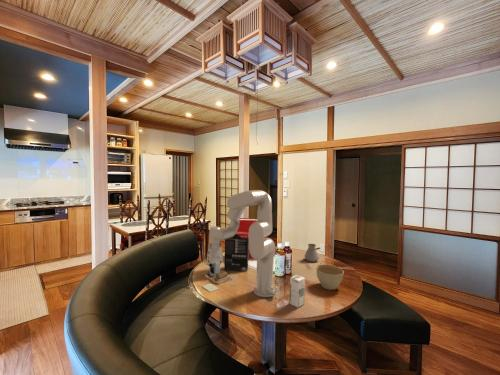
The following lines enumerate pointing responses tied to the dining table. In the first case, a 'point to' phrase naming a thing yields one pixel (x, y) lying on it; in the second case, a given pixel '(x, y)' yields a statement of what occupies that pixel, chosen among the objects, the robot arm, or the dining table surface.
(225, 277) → the offcut oak
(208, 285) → the mat
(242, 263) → the graphics card box
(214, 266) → the panel
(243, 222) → the book
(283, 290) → the dining table surface
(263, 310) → the dining table surface
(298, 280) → the syrup box
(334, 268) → the planter bowl
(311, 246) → the coffee pot
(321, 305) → the dining table surface
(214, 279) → the rack
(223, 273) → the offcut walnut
